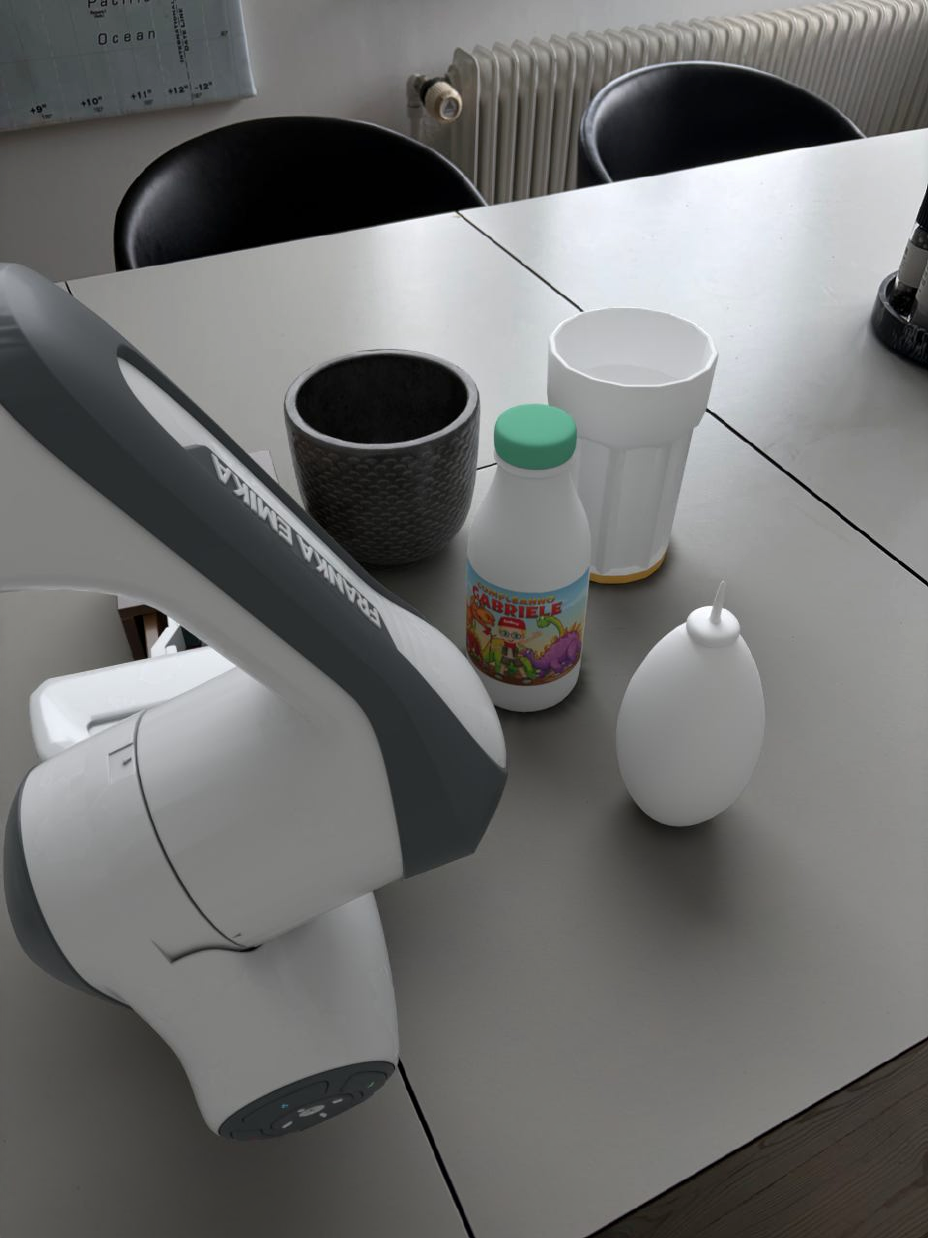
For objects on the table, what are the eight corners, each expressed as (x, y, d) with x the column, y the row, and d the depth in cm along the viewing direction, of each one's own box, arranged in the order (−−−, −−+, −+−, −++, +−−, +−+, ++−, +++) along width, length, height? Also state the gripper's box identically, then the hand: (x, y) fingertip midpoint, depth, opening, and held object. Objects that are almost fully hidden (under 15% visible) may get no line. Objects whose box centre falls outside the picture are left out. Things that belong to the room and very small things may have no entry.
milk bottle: (468, 633, 72) (468, 384, 58) (576, 635, 72) (601, 387, 58) (464, 714, 66) (463, 460, 53) (581, 717, 66) (611, 463, 52)
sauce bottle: (586, 772, 63) (615, 549, 50) (697, 740, 65) (752, 517, 52) (642, 875, 57) (691, 653, 45) (762, 837, 59) (840, 614, 47)
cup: (521, 511, 82) (530, 312, 70) (653, 496, 84) (684, 299, 72) (555, 603, 74) (572, 395, 62) (701, 584, 76) (745, 378, 64)
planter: (378, 624, 73) (365, 476, 64) (267, 535, 80) (243, 392, 71) (515, 541, 79) (521, 398, 71) (402, 467, 87) (394, 328, 78)
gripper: (453, 700, 49) (386, 533, 59) (15, 800, 45) (20, 602, 55) (455, 779, 54) (391, 612, 63) (55, 878, 49) (53, 682, 59)
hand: (216, 608), depth 59 cm, fingers closed on rook chess piece, 3 cm apart
